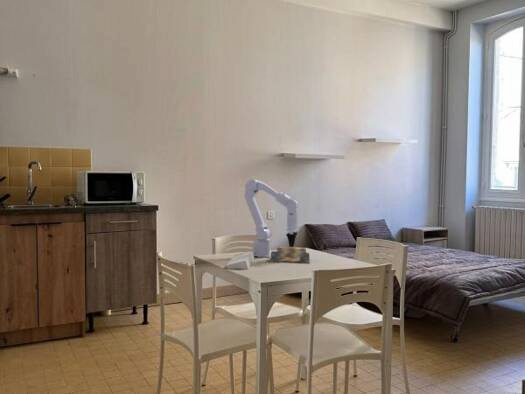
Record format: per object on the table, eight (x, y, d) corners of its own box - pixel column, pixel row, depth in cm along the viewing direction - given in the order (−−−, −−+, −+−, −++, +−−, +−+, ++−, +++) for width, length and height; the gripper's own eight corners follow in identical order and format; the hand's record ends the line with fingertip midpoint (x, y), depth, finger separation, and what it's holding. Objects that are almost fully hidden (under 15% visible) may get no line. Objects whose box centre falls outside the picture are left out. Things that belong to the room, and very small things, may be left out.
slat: (276, 258, 285) (277, 247, 285) (277, 257, 287) (277, 246, 287) (305, 259, 283) (305, 248, 283) (305, 258, 285) (306, 248, 285)
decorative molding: (228, 274, 246) (248, 270, 246) (225, 265, 246) (245, 260, 246) (236, 263, 280) (254, 259, 280) (234, 255, 280) (252, 250, 280)
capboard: (269, 261, 270) (269, 253, 270) (271, 258, 281) (271, 250, 281) (309, 263, 267) (309, 254, 267) (310, 260, 278) (310, 252, 278)
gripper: (298, 222, 277) (298, 247, 277) (299, 220, 291) (299, 244, 292) (285, 222, 278) (285, 247, 278) (287, 220, 292) (287, 244, 292)
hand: (291, 245), depth 285 cm, fingers open, 7 cm apart
